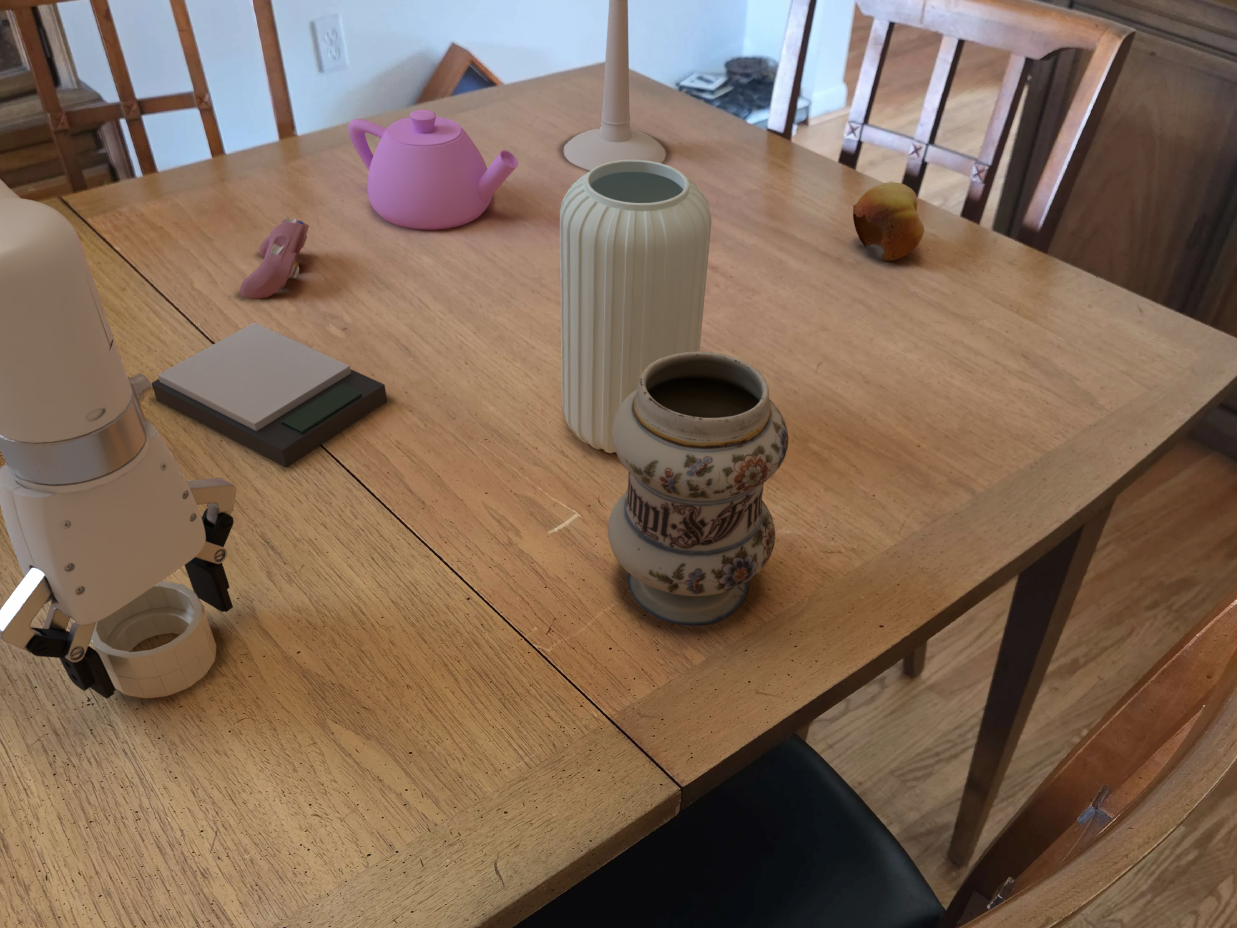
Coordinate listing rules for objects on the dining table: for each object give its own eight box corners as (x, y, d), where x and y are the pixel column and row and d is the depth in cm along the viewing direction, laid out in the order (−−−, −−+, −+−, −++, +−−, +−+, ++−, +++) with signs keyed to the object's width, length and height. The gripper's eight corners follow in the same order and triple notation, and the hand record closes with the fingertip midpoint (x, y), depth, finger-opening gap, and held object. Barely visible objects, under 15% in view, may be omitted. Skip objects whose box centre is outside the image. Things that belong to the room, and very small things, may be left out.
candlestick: (557, 138, 140) (553, -145, 119) (655, 134, 142) (669, -144, 121) (571, 181, 132) (570, -116, 110) (675, 177, 134) (694, -115, 112)
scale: (158, 406, 97) (148, 374, 94) (262, 348, 104) (255, 317, 101) (287, 473, 91) (280, 441, 88) (388, 407, 98) (383, 376, 96)
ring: (87, 673, 75) (64, 626, 72) (171, 614, 79) (153, 566, 76) (156, 720, 72) (136, 673, 69) (239, 656, 76) (224, 609, 73)
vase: (716, 448, 96) (744, 198, 80) (600, 485, 91) (605, 229, 75) (650, 381, 102) (664, 139, 86) (539, 413, 98) (532, 164, 82)
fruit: (897, 282, 118) (914, 209, 112) (830, 257, 121) (843, 185, 115) (929, 256, 122) (947, 185, 116) (864, 233, 125) (878, 163, 120)
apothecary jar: (713, 519, 89) (736, 319, 76) (796, 613, 82) (837, 410, 69) (579, 563, 85) (579, 358, 72) (654, 666, 77) (669, 460, 64)
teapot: (495, 254, 118) (489, 154, 111) (329, 220, 122) (313, 122, 114) (543, 202, 127) (541, 106, 120) (388, 172, 131) (376, 78, 124)
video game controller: (281, 319, 110) (301, 262, 106) (235, 299, 109) (254, 240, 104) (301, 271, 117) (321, 216, 113) (258, 252, 115) (277, 194, 111)
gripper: (153, 345, 68) (220, 553, 80) (-115, 484, 58) (9, 697, 70) (237, 385, 65) (293, 594, 78) (-29, 538, 55) (84, 751, 67)
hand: (158, 643), depth 74 cm, fingers open, 9 cm apart
